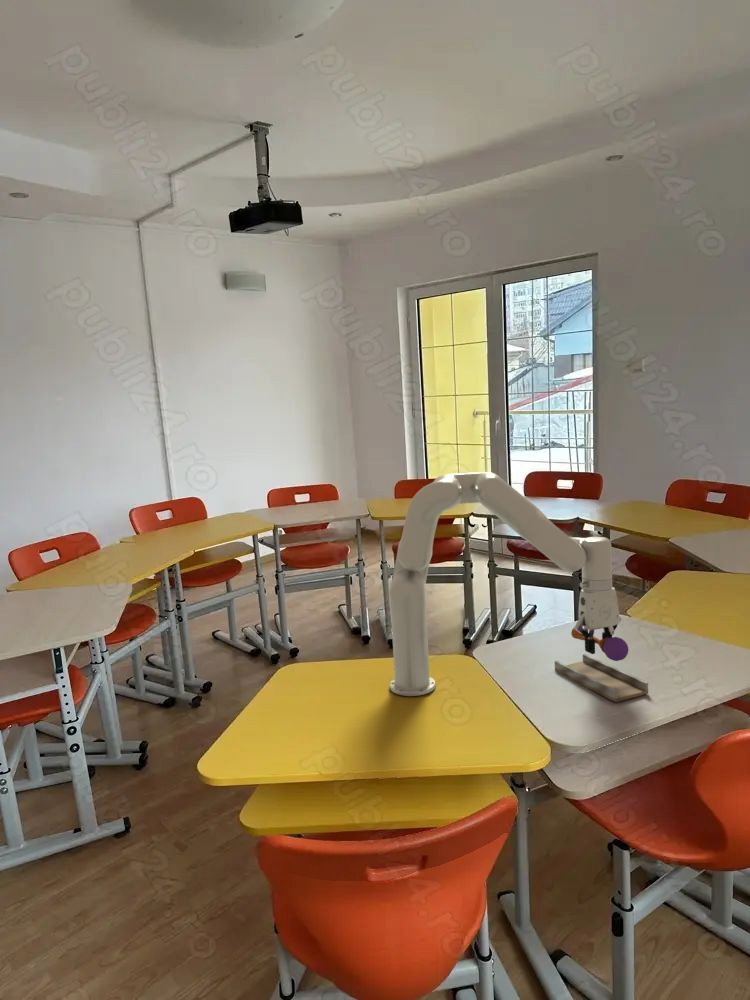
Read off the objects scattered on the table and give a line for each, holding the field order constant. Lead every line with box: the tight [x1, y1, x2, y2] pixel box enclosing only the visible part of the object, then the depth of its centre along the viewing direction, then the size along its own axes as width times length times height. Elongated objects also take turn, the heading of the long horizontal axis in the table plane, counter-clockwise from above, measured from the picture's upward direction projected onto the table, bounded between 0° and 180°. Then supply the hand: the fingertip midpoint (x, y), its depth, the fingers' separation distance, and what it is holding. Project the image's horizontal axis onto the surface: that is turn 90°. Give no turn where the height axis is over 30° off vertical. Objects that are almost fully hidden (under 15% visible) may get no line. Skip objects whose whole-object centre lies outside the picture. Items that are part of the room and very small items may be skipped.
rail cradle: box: [554, 653, 649, 703], centre depth 179 cm, size 24×11×3 cm, turn 22°
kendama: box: [570, 627, 629, 662], centre depth 178 cm, size 6×6×20 cm
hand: (598, 649), depth 178 cm, fingers closed on kendama, 5 cm apart
